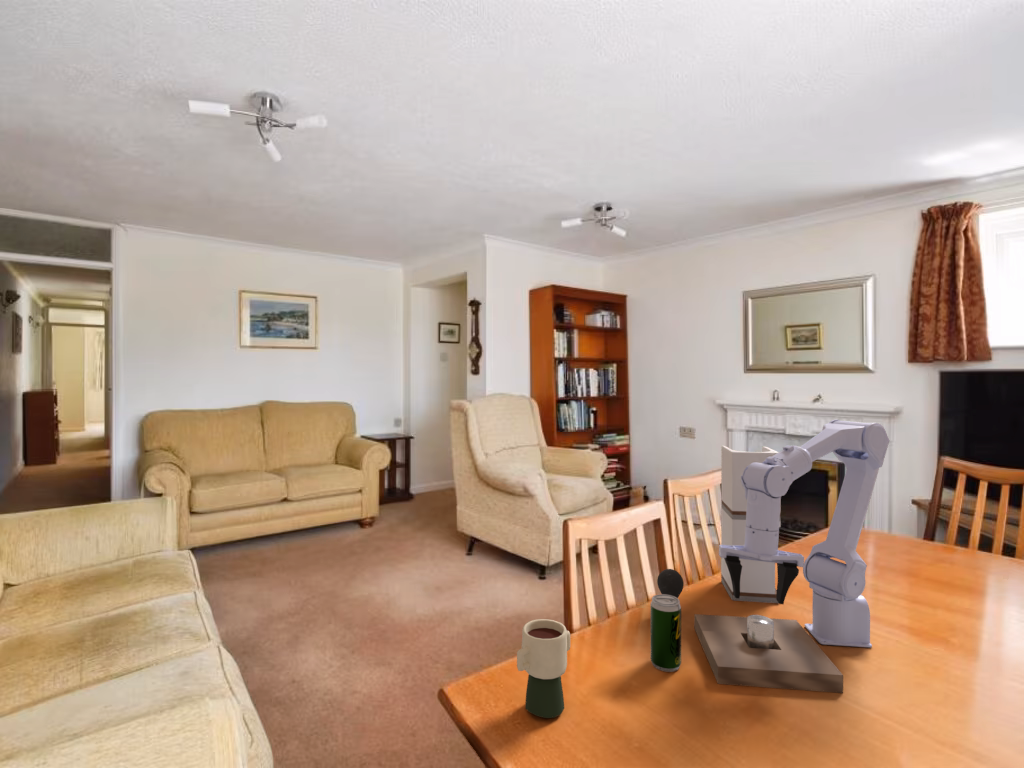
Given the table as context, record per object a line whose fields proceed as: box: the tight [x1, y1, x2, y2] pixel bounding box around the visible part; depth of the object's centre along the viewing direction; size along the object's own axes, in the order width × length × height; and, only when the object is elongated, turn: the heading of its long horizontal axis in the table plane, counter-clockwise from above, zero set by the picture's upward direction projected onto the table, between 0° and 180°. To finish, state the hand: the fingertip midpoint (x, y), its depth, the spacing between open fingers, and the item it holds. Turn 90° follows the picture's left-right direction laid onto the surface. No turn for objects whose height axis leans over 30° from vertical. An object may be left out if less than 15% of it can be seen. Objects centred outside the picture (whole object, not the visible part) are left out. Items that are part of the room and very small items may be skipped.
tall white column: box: [720, 445, 782, 604], centre depth 129 cm, size 11×11×35 cm
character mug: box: [516, 618, 571, 719], centre depth 84 cm, size 11×7×13 cm, turn 127°
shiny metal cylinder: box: [746, 614, 774, 649], centre depth 99 cm, size 4×4×7 cm
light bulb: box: [656, 568, 685, 599], centre depth 117 cm, size 6×6×10 cm
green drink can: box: [650, 593, 682, 673], centre depth 97 cm, size 5×5×12 cm
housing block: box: [693, 613, 844, 694], centre depth 99 cm, size 20×20×3 cm
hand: (757, 599), depth 100 cm, fingers open, 7 cm apart
